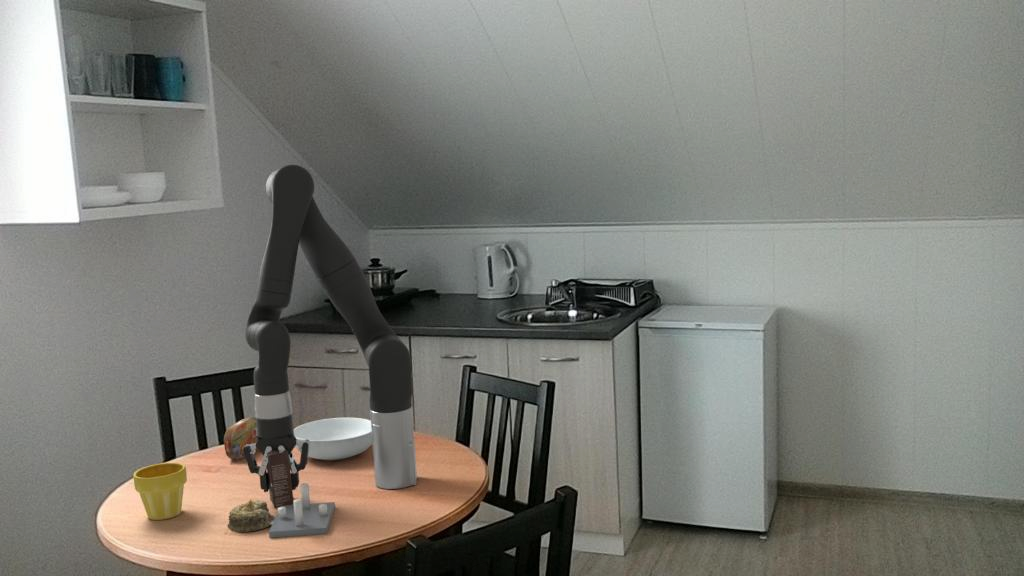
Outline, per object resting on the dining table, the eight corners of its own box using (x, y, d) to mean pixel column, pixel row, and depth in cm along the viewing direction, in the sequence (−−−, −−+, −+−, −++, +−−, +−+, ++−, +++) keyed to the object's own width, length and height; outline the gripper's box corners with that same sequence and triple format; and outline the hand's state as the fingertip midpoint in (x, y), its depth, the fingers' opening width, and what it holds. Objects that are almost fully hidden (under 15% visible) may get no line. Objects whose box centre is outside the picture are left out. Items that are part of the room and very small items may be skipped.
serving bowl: (372, 466, 221) (369, 438, 220) (284, 470, 221) (281, 442, 220) (384, 440, 241) (382, 414, 241) (304, 444, 242) (302, 418, 241)
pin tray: (335, 507, 195) (332, 478, 194) (326, 533, 181) (324, 503, 180) (281, 511, 194) (279, 482, 193) (269, 537, 180) (266, 507, 180)
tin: (235, 463, 228) (232, 430, 227) (223, 463, 229) (220, 430, 228) (263, 445, 243) (260, 413, 242) (252, 444, 243) (249, 413, 242)
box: (268, 500, 201) (264, 446, 199) (289, 496, 203) (285, 443, 201) (272, 509, 196) (268, 454, 194) (294, 505, 197) (290, 450, 196)
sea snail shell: (230, 540, 182) (225, 514, 181) (225, 523, 191) (220, 499, 191) (281, 526, 186) (277, 501, 185) (274, 511, 195) (270, 486, 194)
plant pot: (132, 514, 197) (127, 469, 196) (181, 501, 203) (177, 458, 202) (145, 528, 189) (140, 481, 187) (196, 515, 194) (192, 469, 193)
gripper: (310, 406, 201) (316, 481, 203) (243, 410, 200) (249, 486, 202) (305, 415, 193) (311, 493, 196) (235, 419, 192) (242, 498, 195)
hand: (280, 489), depth 199 cm, fingers closed on box, 5 cm apart
